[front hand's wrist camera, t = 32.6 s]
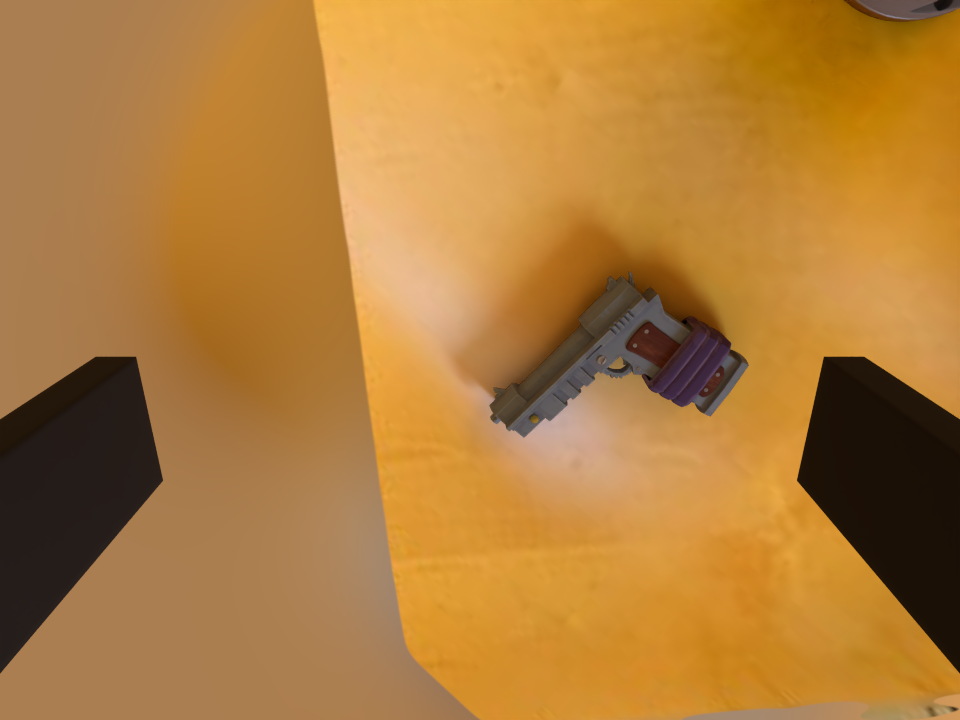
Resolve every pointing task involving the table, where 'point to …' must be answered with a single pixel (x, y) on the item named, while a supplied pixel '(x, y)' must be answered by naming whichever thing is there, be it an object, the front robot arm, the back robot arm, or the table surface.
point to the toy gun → (626, 359)
